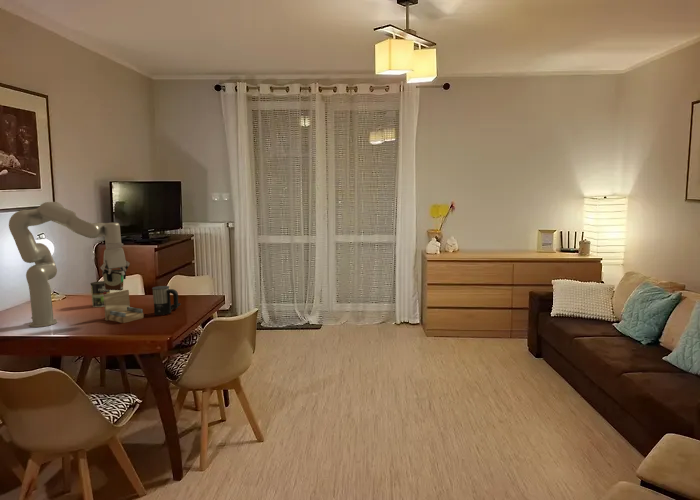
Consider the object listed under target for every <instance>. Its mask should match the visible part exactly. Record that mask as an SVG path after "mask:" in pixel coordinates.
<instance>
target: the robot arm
mask: <svg viewBox="0 0 700 500" xmlns="http://www.w3.org/2000/svg"><path fill="white" fill-rule="evenodd" d="M39 205H40V206H38V207H37V208H33V209H21V210H19V211H16V212H15V213H13V214H12V215H11V217H10V218H9V221H8V229H9V232H10V234H11V235H12V238H13V240H14V242H15V245H16V247H17V250H18V253H19V255H20V257H21V259H22V261H23V262H24V263H29V264H32V263H34V264H33V265H31V266H30V267H29V268H27V270H26V273H25V277H26V281H27V285H28V290H29V297H30V298H29V299H30V308H31V310H30V311H31V318H30V319H31V322H30V323H29V324H28V326H29V327H31V328H42V327H47V326H48V327H49V326H52V325H56V324H57V323H58V320H57V319H54V310H53V309H54V308H53V298H52V297H53V296H52V290H51V286H50V283H49V281H50V280H52V279H54V278H55V277H56V276H57V272H58V268H57V265H56V262H55V261H54V257H53V255H52V253H51V250H50V249H49V247H48V246H47V245H45V244H44V243H40V242H36V240H35V239H36V238H35V237H34V235H33V233H32V231H31V230H30V229H29V227H32V226H33V227H34V226H40V225H42V224H45V223H48V222H53V223H56V224H58V225H61V226H63V227H66V228H67V229H69V231H72V232H73V233H76V234H78V235H80V236H83V237H84V238H89V239H97V238H102V237H104V241H105V249H103V250H104V252H103V264H102V265H101V266H100V267H99V268H100V269H101V271H104V272H105V273H106V274H107V280H108V281H109V282H112V274H110V273H111V270H115V269H119V270H124V273H125V275H124V278H123V280H126V279H127V277H126V275H127V274H126V273H127V270H128V269H129V266H130V264H131V263H130V262H129V261H127V260H126V255H125V251H124V248H123V247H124V243H122V236H121V235H122V234H121V225H120V223H119V222H94V223H91V222H88V221H86V220H84V219H81V218H80V217H78V216H77V214H76V212H75V211H73V210H70V209H68V208H66V207H64V205H63V204H61V203H60V202H57V201H48V202H42V203H41V204H39Z"/></svg>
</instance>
